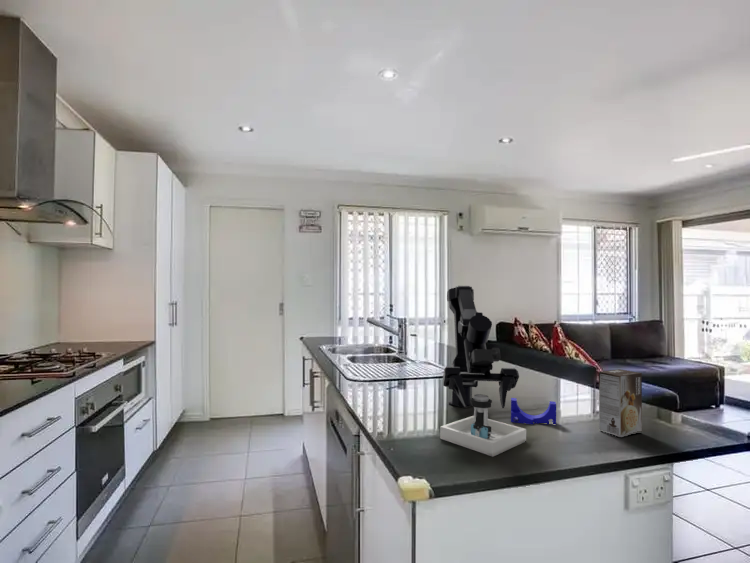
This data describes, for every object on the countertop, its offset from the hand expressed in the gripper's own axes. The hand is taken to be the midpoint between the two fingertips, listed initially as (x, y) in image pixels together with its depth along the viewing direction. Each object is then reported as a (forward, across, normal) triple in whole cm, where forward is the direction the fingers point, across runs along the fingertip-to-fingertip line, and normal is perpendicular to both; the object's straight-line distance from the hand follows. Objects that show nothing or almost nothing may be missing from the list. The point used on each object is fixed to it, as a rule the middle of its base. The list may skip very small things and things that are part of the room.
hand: (484, 406), depth 105 cm
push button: (+5, 0, +7) cm, 8 cm away
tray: (+5, 0, +7) cm, 9 cm away
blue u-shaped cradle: (-6, +18, +18) cm, 26 cm away
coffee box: (-1, +38, +14) cm, 41 cm away
